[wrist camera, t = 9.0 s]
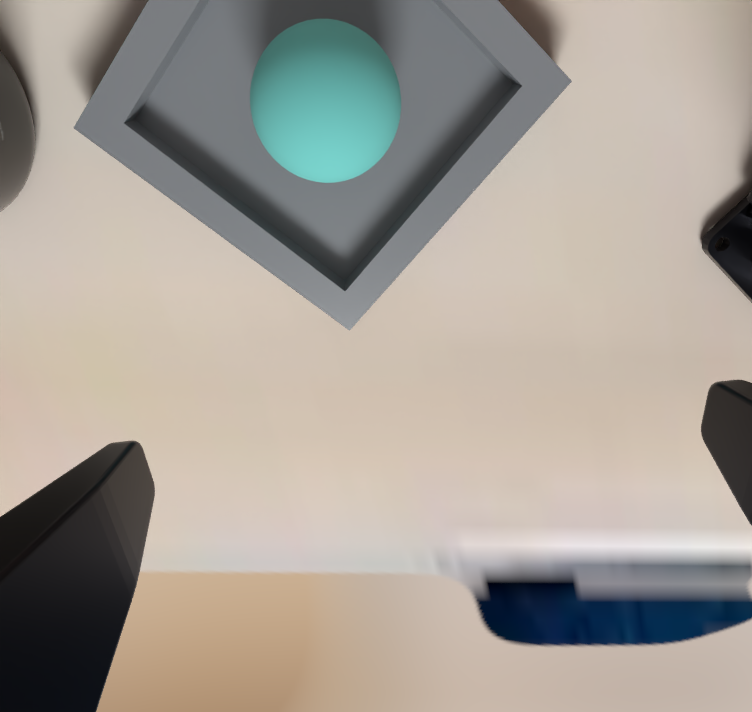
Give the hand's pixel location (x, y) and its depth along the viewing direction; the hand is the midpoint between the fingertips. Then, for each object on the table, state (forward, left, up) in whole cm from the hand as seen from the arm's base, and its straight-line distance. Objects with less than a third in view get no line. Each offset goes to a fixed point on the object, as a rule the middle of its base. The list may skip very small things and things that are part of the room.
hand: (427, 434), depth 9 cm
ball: (+4, -2, -9) cm, 10 cm away
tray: (+4, -2, -12) cm, 13 cm away
